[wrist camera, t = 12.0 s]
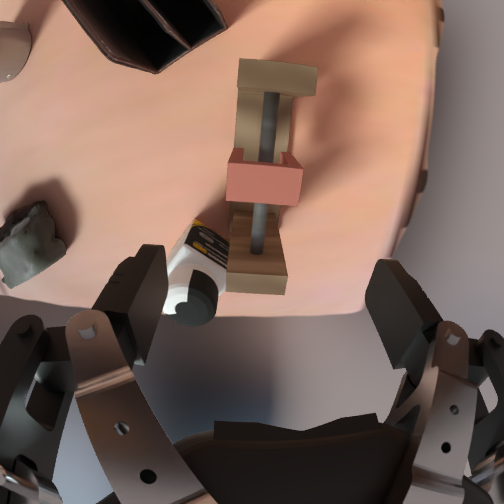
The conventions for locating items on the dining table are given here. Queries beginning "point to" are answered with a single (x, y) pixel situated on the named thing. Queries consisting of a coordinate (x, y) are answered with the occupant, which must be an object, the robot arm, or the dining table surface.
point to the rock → (28, 244)
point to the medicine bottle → (196, 275)
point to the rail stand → (262, 150)
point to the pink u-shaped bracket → (264, 180)
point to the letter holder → (147, 29)
